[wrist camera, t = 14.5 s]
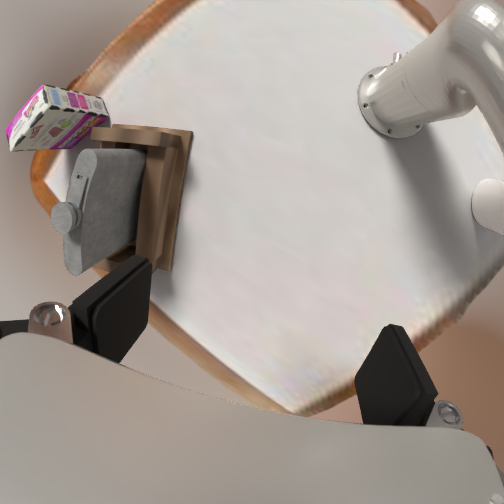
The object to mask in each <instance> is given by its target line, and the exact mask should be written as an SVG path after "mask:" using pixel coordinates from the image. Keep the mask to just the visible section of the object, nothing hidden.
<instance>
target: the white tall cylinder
mask: <svg viewBox="0 0 504 504" xmlns="http://www.w3.org/2000/svg"><path fill="white" fill-rule="evenodd" d="M472 211H473V215H474V217H475V219H476V221H477V222H478V223H479V224H480V225H481V226H483V227H485V228H488V229H490V230H492V231H494V232H497V233H499V234H501V235H503V236H504V181H500V180H495V179H484V180H482V181H481V182H479V183H478V185H477V186H476V188H475V189H474V192H473V196H472Z"/></svg>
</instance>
